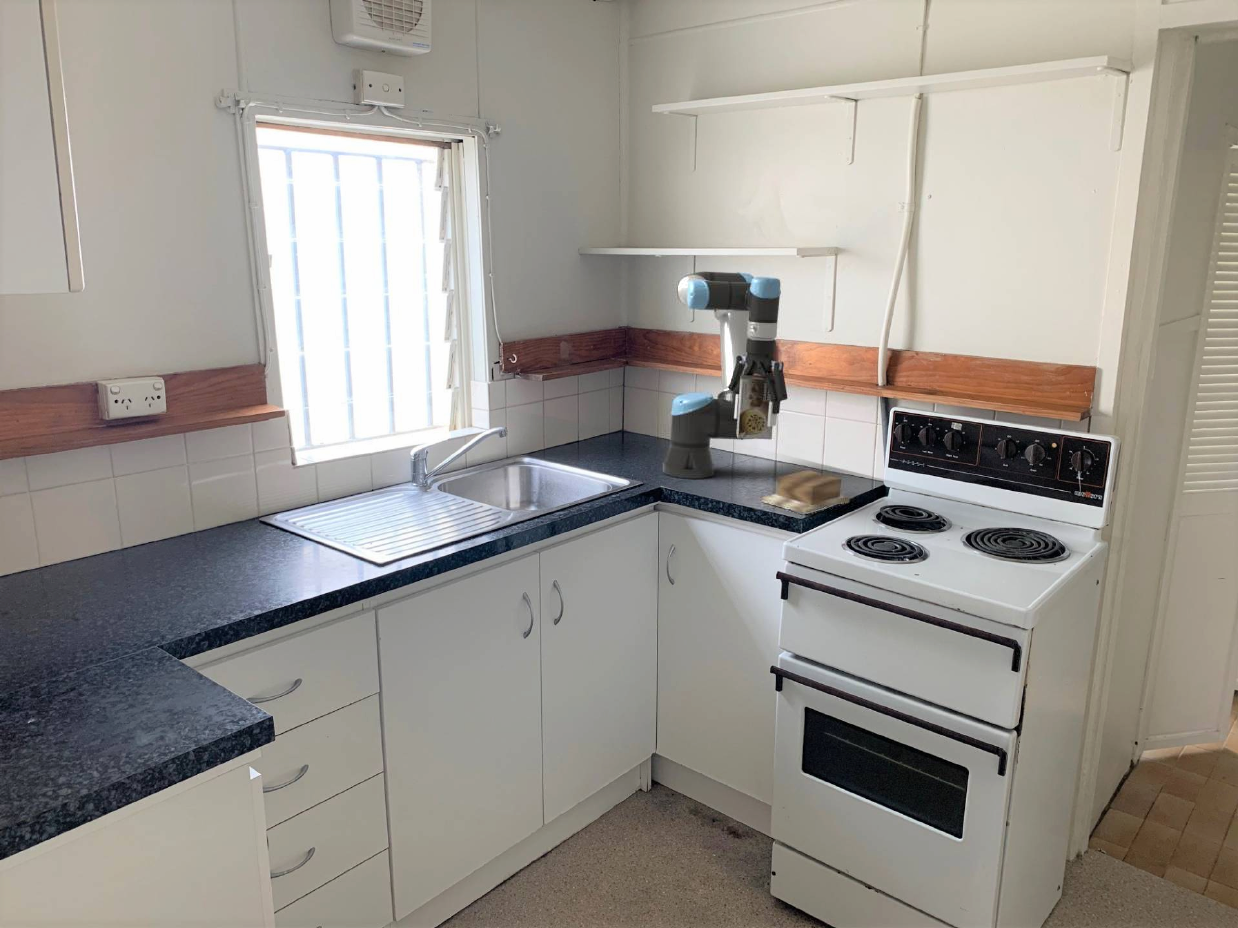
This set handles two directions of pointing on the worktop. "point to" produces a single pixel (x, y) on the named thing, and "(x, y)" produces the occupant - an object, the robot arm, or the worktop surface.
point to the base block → (809, 487)
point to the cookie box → (753, 408)
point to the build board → (802, 506)
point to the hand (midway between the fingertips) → (754, 421)
